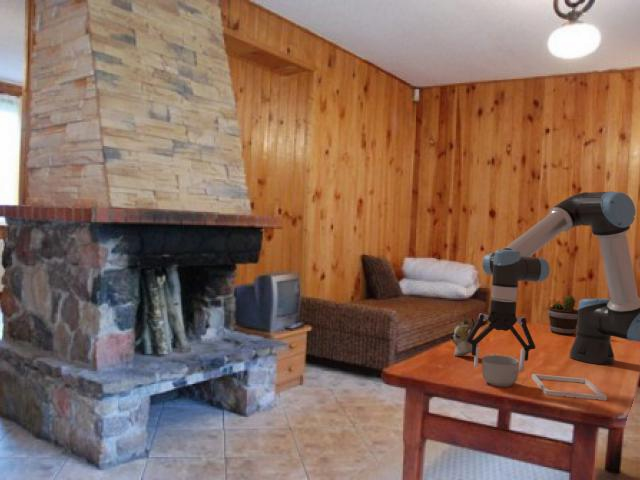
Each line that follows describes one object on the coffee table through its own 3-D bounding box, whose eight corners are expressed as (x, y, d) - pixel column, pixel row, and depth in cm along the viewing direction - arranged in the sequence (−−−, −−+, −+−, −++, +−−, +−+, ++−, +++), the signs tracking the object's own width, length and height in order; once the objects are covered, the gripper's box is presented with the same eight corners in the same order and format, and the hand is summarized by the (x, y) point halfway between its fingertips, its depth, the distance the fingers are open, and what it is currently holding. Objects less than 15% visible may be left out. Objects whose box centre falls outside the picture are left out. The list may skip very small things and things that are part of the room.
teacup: (519, 391, 165) (521, 364, 165) (481, 387, 167) (483, 360, 167) (513, 378, 179) (515, 354, 178) (478, 375, 181) (479, 350, 181)
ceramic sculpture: (445, 352, 211) (448, 312, 210) (467, 353, 212) (470, 313, 211) (454, 359, 200) (457, 317, 200) (478, 360, 201) (481, 318, 200)
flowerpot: (539, 329, 271) (542, 288, 271) (569, 331, 273) (572, 290, 272) (555, 336, 257) (558, 292, 256) (586, 337, 259) (589, 294, 258)
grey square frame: (586, 385, 178) (586, 379, 178) (606, 403, 159) (607, 396, 159) (531, 379, 180) (532, 373, 180) (545, 397, 162) (545, 390, 162)
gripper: (543, 301, 174) (537, 369, 175) (460, 295, 178) (455, 361, 178) (549, 305, 167) (543, 376, 167) (463, 297, 170) (458, 367, 171)
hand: (498, 368), depth 173 cm, fingers open, 13 cm apart
